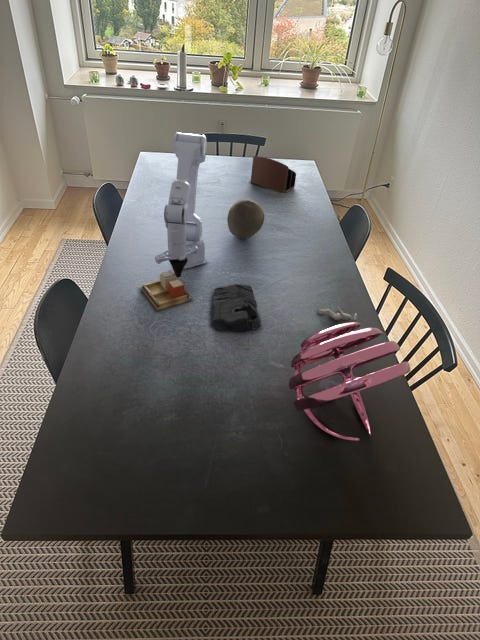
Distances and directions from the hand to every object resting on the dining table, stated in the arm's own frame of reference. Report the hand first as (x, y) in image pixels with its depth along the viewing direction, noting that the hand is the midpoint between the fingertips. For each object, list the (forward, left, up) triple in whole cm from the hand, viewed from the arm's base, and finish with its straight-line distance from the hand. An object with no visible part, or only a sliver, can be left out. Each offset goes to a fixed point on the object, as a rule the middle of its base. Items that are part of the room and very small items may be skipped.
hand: (177, 276), depth 151 cm
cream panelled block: (+3, 0, -4) cm, 5 cm away
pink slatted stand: (-12, +67, -4) cm, 68 cm away
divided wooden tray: (+6, +3, -4) cm, 8 cm away
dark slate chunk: (-11, +20, -4) cm, 23 cm away
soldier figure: (-37, +39, -4) cm, 54 cm away
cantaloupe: (-39, -19, -4) cm, 43 cm away
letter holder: (-79, -56, -4) cm, 96 cm away
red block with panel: (+3, +6, -4) cm, 8 cm away
